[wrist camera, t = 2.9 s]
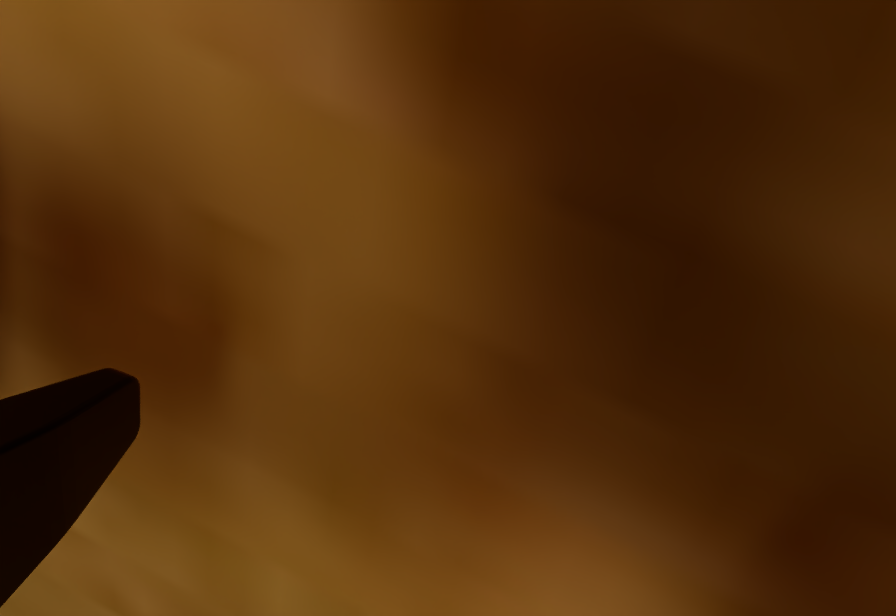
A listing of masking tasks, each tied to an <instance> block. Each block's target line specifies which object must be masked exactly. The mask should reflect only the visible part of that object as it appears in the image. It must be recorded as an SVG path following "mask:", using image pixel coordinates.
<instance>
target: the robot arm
mask: <svg viewBox="0 0 896 616" xmlns="http://www.w3.org/2000/svg"><path fill="white" fill-rule="evenodd" d="M139 427H140V384H139V382H138V380H137V378H135V377H134V376H132V375H129V374H126V373H124V372H121V371H118V370H116V369H112V368H106V369H101V370H98V371H94V372H91V373H88V374H84V375H81V376H78V377H74V378H71V379H68V380H64V381H61V382H58V383H54V384H51V385H48V386H44V387H41V388H38V389H34V390H31V391H28V392H24V393H21V394H18V395H14V396H11V397H8V398H4V399H1V400H0V607H1V606H2V605H3V604H4V603H5V602H6V601H7V599H8V598H9V597H10V596H11V595H12V594H13V593H14V592H15V591H16V589H17V588H18V587H19V586H20V585H21V584H22V583H23V582H24V580H25V579H26V578H27V577H28V576H29V575H30V574H31V573H32V572H33V570H34V569H35V568H36V567H37V566H38V565H39V564H40V563H41V561H42V560H43V559H44V558H45V557H46V556H47V555H48V554H49V553H50V551H51V550H52V549H53V548H54V547H55V546H56V545H57V543H58V542H59V541H60V540H61V539H62V538H63V536H64V535H65V534H66V533H67V532H68V530H69V529H70V528H71V526H72V525H73V524H74V522H75V521H76V520H77V519H78V517H79V516H80V514H81V513H82V512H83V510H84V509H85V508H86V506H87V505H88V503H89V502H90V501H91V499H92V498H93V497H94V495H95V494H96V492H97V491H98V490H99V488H100V487H101V486H102V484H103V483H104V481H105V480H106V479H107V477H108V476H109V474H110V473H111V472H112V470H113V469H114V468H115V466H116V465H117V463H118V462H119V461H120V459H121V458H122V457H123V455H124V454H125V452H126V451H127V450H128V448H129V447H130V446H131V444H132V443H133V441H134V440H135V438H136V436H137V434H138V431H139Z"/></svg>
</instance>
